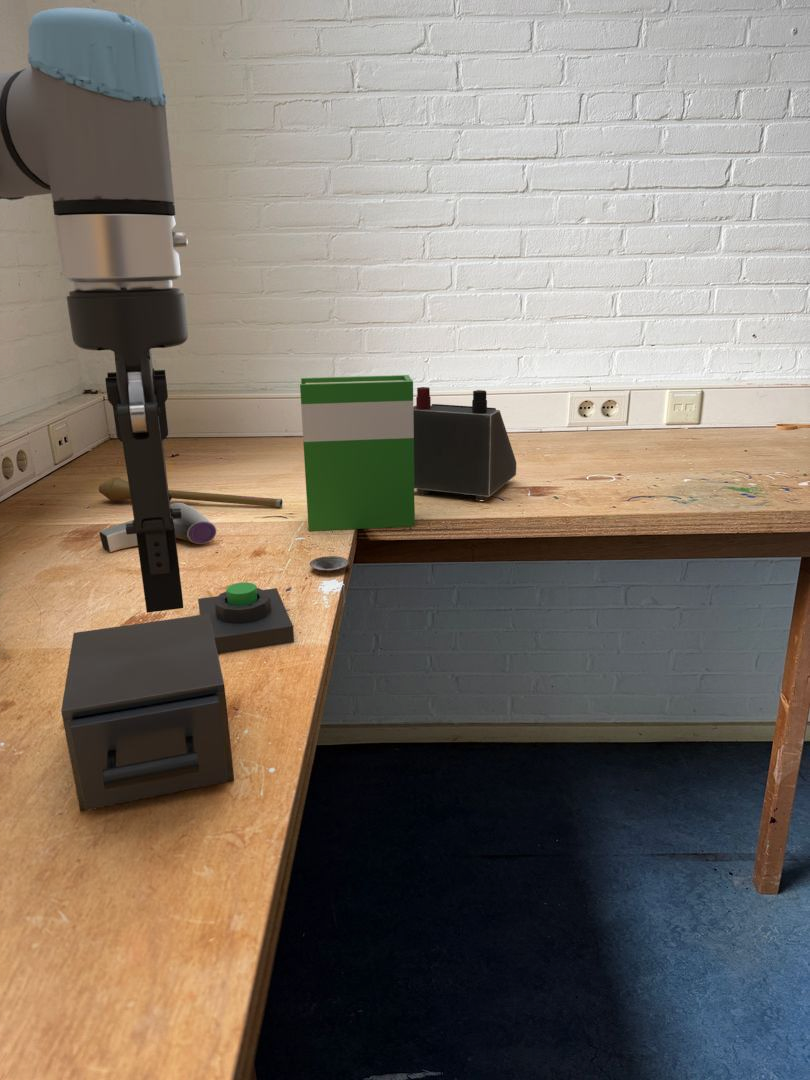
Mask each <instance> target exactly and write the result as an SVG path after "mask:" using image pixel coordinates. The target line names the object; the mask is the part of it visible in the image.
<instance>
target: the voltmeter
mask: <svg viewBox="0 0 810 1080" xmlns="http://www.w3.org/2000/svg"><path fill="white" fill-rule="evenodd" d="M430 390H431V388H430V387H428V386H421V387H417V388H416V398H415V399H416V401H415V403H416V404H415V405H413V418H414V489H416V492H417V494H418V493H419V494H418V495H421V494H425V495H428V494H429V493H430V491H435V492H444V493H453V494H463V495H472V496H475V500H476V499H477V500H486V499H488V500H489V498H490V497H491V496H492V495H493V494H495V493H496V492H497V491H498V490H500V489H501V488H502V487H503V486H505V485H504V484H506V483H507V484H508V483H509V481H511V479H513V478H515V476H517V460H516V457H515V453H514V450H513V447H512V444H511V441H510V438H509V435H508V431H507V429H506V426H505V422H504V419H503V416H502V413H501V410H500V409H497V408H496V407H488V400H487V391H486V390H483V389H482V390H481V389H477V390H473V391H472V400H471V405H457V404H440V403H439V404H438V403H432V404H431V401H432V400H431V395H430V394H431V393H430ZM507 484H506V485H507ZM427 493H428V494H427ZM477 500H476V501H477Z"/></svg>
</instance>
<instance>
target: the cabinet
mask: <svg viewBox="0 0 810 1080" xmlns="http://www.w3.org/2000/svg"><path fill="white" fill-rule="evenodd" d="M225 686H226V685H225V682H224V677H223V672H222V666H221V662H220V658H219V654H218V653H217V648H216V643H215V639H214V634H213V629H212V625H211V620H210V615H209V614H204V615H200V614H196V615H191V616H184V617H175V618H169V619H162V620H157V621H148V622H141V623H134V624H126V625H119V626H112V627H106V628H105V627H104V628H98V629H91V630H85V631H77V632H73V634H72V641H71V647H70V653H69V659H68V665H67V671H66V678H65V685H64V691H63V698H62V703H61V710H60V712H61V717H62V723H63V728H64V734H65V739H66V744H67V749H68V750H67V751H68V755H69V760H70V766H71V771H72V777H73V781H74V787H75V793H76V798H77V803H78V809H79V812H86V811H85V806H84V801H83V795H82V790H81V784H80V779H79V773H78V768H77V762H76V757H75V752H74V746H73V741H72V735H71V730H70V726H71V720H74V719H80V718H83V716H86V715H92V714H98V713H104V712H110V711H115V710H121V709H127V708H133V707H139V706H145V705H151V704H157V703H163V702H169V701H174V700H180V699H186V698H192V697H198V696H204V695H209V696H215V695H218V698H219V704H220V713H221V722H222V731H223V740H224V750H225V759H226V768H227V777H228V781H227V782H222V783H217V784H212V785H208V786H203V787H198V788H193V789H188V790H183V791H178V792H173V793H168V794H163V795H158V796H153V797H148V798H143V799H138V800H133V801H132V802H134V801H135V802H136V801H141V800H145V799H151V798H155V797H156V798H157V797H161V796H166V795H171V794H175V793H180V792H185V791H190V790H195V789H200V788H206V787H210V786H216V785H220V784H225V783H230V782H234V781H235V774H234V763H233V754H232V744H231V735H230V726H229V725H230V724H229V716H228V715H229V714H228V708H227V707H228V706H227V697H226V687H225ZM125 803H126V804H127V803H131V802H130V801H128V802H123V803H118V804H113V805H108V806H103V807H102V808H106V807H111V806H115V805H116V806H117V805H121V804H125ZM97 809H101V808H100V807H98V808H97ZM92 810H96V809H95V808H93V809H92ZM87 811H90V810H89V809H88V810H87Z"/></svg>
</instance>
